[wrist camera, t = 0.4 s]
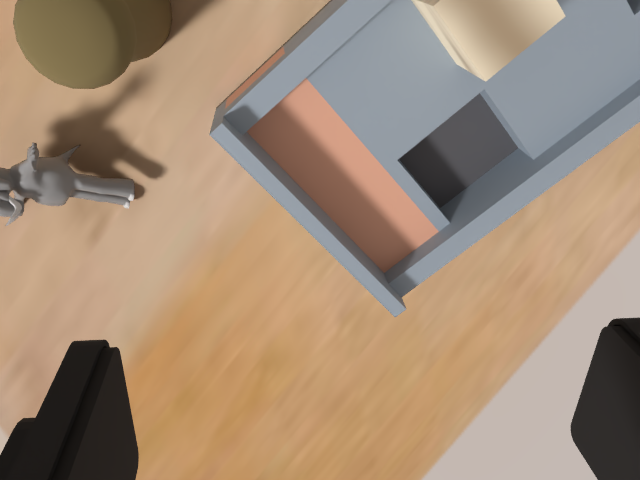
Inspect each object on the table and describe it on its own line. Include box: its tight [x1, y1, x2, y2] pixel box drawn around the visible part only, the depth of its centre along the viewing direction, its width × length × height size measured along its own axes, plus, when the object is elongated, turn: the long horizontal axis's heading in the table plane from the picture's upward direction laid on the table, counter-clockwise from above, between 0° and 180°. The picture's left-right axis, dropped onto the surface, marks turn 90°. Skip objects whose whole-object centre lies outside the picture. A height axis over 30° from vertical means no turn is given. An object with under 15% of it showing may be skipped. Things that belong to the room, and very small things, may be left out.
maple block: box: [411, 0, 565, 82], centre depth 30 cm, size 5×5×5 cm
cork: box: [13, 0, 172, 89], centre depth 29 cm, size 6×6×11 cm
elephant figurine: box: [0, 143, 134, 226], centre depth 36 cm, size 10×6×9 cm
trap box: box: [209, 0, 640, 317], centre depth 34 cm, size 32×18×6 cm, turn 131°
